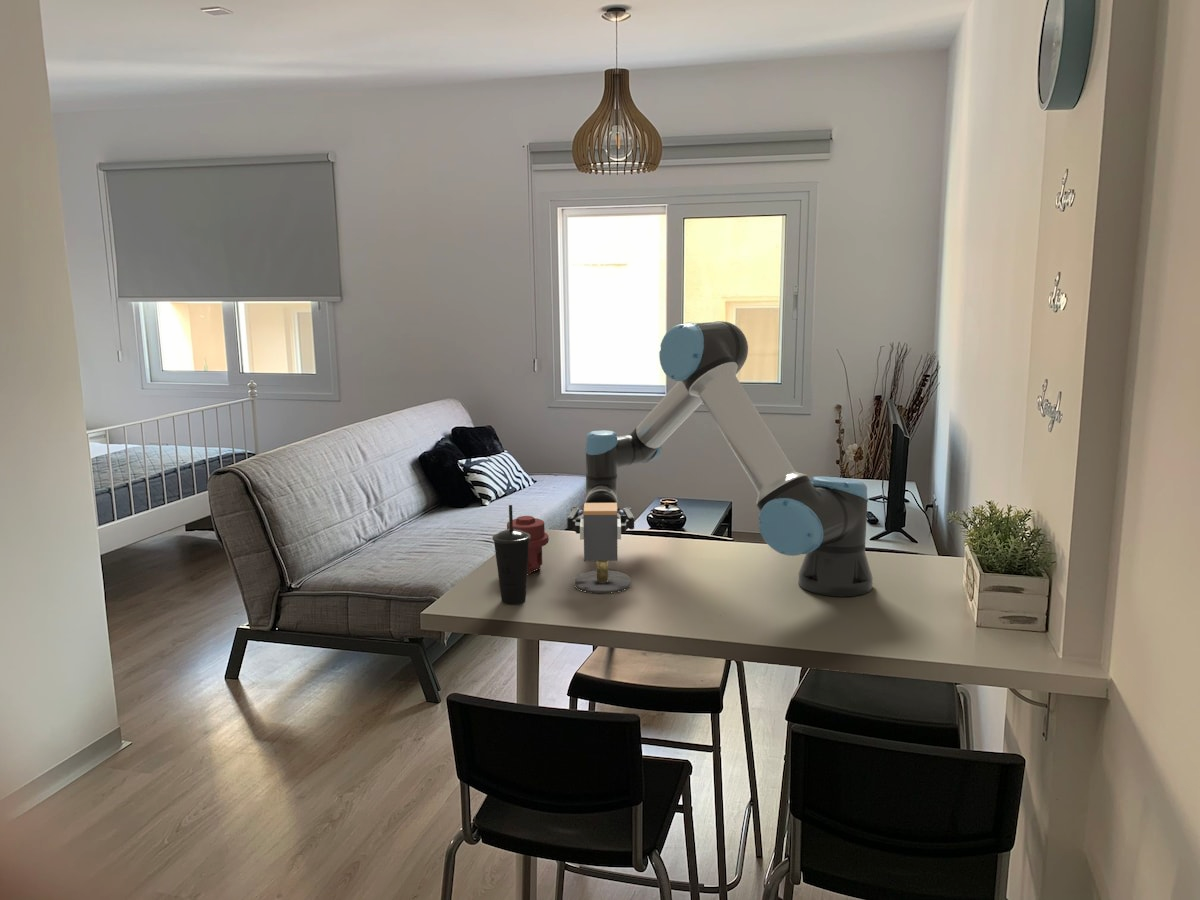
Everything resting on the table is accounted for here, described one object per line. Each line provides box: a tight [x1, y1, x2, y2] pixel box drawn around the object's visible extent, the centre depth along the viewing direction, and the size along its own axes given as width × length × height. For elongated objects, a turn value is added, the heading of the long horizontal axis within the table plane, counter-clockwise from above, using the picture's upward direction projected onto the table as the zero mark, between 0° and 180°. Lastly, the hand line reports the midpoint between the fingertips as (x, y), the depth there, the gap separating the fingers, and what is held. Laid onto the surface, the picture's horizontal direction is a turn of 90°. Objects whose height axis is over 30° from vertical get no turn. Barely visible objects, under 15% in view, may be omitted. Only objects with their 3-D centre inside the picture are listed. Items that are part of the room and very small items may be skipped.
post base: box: [574, 561, 632, 594], centre depth 193 cm, size 12×12×7 cm
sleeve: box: [583, 502, 618, 562], centre depth 191 cm, size 7×7×11 cm
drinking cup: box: [491, 504, 531, 606], centre depth 182 cm, size 8×8×20 cm
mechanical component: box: [506, 515, 549, 575], centre depth 202 cm, size 12×10×10 cm
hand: (600, 533), depth 186 cm, fingers closed on sleeve, 7 cm apart
